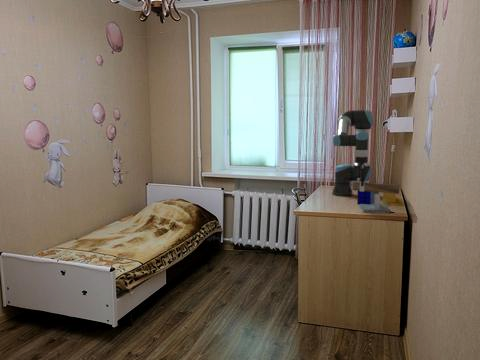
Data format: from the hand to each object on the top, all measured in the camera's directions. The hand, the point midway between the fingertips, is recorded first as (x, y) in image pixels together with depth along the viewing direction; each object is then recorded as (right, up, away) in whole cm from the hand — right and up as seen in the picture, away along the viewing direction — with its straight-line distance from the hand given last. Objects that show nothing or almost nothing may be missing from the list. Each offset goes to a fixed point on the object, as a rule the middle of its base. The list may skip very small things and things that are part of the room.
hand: (360, 189), depth 259 cm
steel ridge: (+9, -11, 0) cm, 14 cm away
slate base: (+9, -13, 0) cm, 16 cm away
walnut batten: (+9, -1, -1) cm, 9 cm away
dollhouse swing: (+26, -11, +16) cm, 33 cm away
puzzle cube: (+9, -10, +19) cm, 24 cm away
